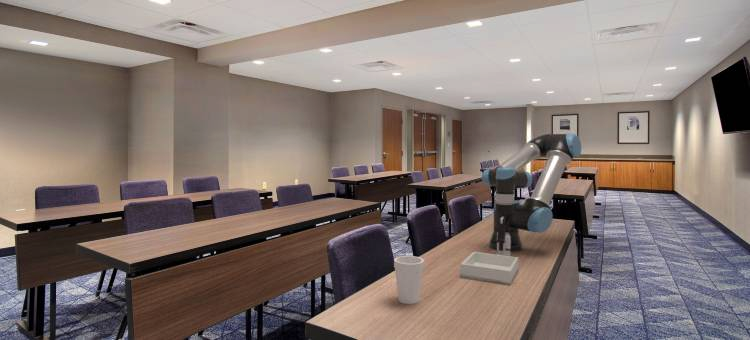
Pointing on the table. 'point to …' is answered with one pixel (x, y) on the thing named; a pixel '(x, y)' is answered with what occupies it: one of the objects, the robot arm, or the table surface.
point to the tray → (490, 268)
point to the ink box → (506, 244)
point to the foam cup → (408, 278)
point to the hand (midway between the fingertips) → (503, 255)
